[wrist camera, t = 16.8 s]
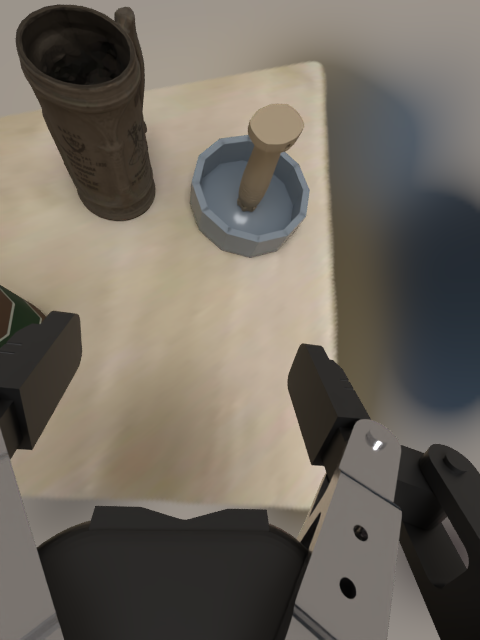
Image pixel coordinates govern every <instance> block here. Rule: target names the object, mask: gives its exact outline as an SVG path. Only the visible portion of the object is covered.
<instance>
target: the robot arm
mask: <svg viewBox="0 0 480 640" xmlns="http://www.w3.org/2000/svg"><path fill="white" fill-rule="evenodd" d="M81 356H82V343H81V328H80V318H79V315H78V314H74V313H66V312H58V311H52V312H51V313H50V314H49V315H48V316H47V317H46V318H45V319H44V320H43V321H42V323H41V324H34V323H32V324H30V325H28V326H26V327H24V328H22V329H20V330H19V331H17V332H16V333H15V334H14V335H13V336H12V337H11V338H10V339H9V340H8V341H7V343H6V344H4V345H3V346H2V347H1V348H0V640H387V636H388V627H389V619H390V610H391V602H392V594H393V585H394V577H395V568H396V561H397V552H398V544H399V541H400V544H401V546H402V548H403V551H404V553H405V556H406V558H407V561H408V563H409V565H410V568H411V570H412V572H413V575H414V577H415V580H416V582H417V584H418V587H419V589H420V592H421V594H422V596H423V599H424V601H425V604H426V606H427V608H428V611H429V613H430V616H431V618H432V620H433V623H434V625H435V628H436V630H437V632H438V635H439V637H440V639H441V640H480V474H479V472H478V471H477V470H476V468H475V467H474V466H473V465H472V463H471V462H470V461H469V460H468V459H467V458H465V457H464V456H463V455H462V454H460V453H459V452H457V451H456V450H454V449H452V448H450V447H448V446H445V445H441V444H433V445H431V446H430V447H429V449H428V450H427V451H426V452H425V453H422V452H419V451H416V450H414V449H411V448H408V447H405V446H402V445H400V443H399V441H398V439H397V438H396V436H395V435H394V434H393V433H392V432H391V431H390V430H389V429H388V428H386V427H385V426H383V425H382V424H380V423H378V422H375V421H373V420H371V419H370V417H369V415H368V413H367V412H366V410H365V408H364V406H363V404H362V403H361V401H360V399H359V397H358V396H357V394H356V392H355V391H354V390H353V387H352V385H351V383H350V382H348V378H347V376H346V374H345V373H344V371H343V369H342V368H341V367H340V366H339V365H338V364H336V363H335V362H334V361H333V360H329V358H328V356H327V354H326V352H325V350H324V349H323V347H322V346H318V345H310V344H301V345H300V347H299V349H298V351H297V354H296V356H295V359H294V361H293V364H292V367H291V369H290V372H289V375H288V390H289V394H290V397H291V400H292V403H293V407H294V410H295V413H296V416H297V420H298V423H299V426H300V430H301V433H302V436H303V439H304V443H305V446H306V449H307V452H308V456H309V459H310V462H311V465H318V466H324V467H325V470H326V473H325V475H324V477H323V479H322V481H321V484H320V486H319V489H318V491H317V493H316V496H315V498H314V501H313V503H312V506H311V508H310V510H309V513H308V516H307V518H306V520H305V523H304V525H303V527H302V529H301V531H300V533H299V535H298V537H297V539H295V538H294V537H293V536H292V535H290V534H288V533H287V532H285V531H284V530H282V529H280V528H278V527H276V526H274V525H271V524H269V523H268V516H267V510H259V509H225V510H222V511H218V512H214V513H210V514H207V515H203V516H199V517H196V518H192V519H188V520H182V519H178V518H175V517H172V516H168V515H165V514H162V513H159V512H155V511H152V510H149V509H146V508H142V507H117V506H95V509H94V513H93V516H92V519H91V521H88V522H84V523H81V524H78V525H75V526H73V527H70V528H68V529H66V530H64V531H62V532H60V533H58V534H56V535H55V536H53V537H52V538H50V539H48V540H47V541H45V542H44V543H42V544H41V545H40V546H39V547H37V548H36V545H35V542H34V539H33V535H32V532H31V528H30V525H29V522H28V519H27V515H26V512H25V508H24V505H23V501H22V498H21V495H20V491H19V488H18V485H17V481H16V478H15V475H14V471H13V468H12V465H11V461H10V459H11V458H12V456H13V454H14V453H15V451H16V449H27V450H33V448H34V446H35V444H36V442H37V441H38V439H39V437H40V435H41V433H42V432H43V430H44V428H45V426H46V425H47V423H48V421H49V419H50V417H51V416H52V414H53V412H54V410H55V408H56V407H57V405H58V403H59V401H60V399H61V398H62V396H63V394H64V392H65V391H66V389H67V387H68V385H69V383H70V382H71V380H72V378H73V376H74V374H75V373H76V371H77V369H78V367H79V364H80V361H81ZM447 516H448V518H449V520H450V522H451V523H452V525H453V527H454V529H455V530H456V532H457V534H458V535H459V537H460V539H461V541H462V543H463V544H464V546H465V548H466V551H467V553H468V557H469V566H468V569H467V568H466V567H465V565H464V563H463V561H462V559H461V557H460V556H459V554H458V552H457V550H456V548H455V546H454V545H453V543H452V541H451V539H450V537H449V536H448V534H447V532H446V530H445V528H444V527H443V525H442V523H441V522H442V521H443V520H444V519H445V518H446V517H447Z"/></svg>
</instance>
